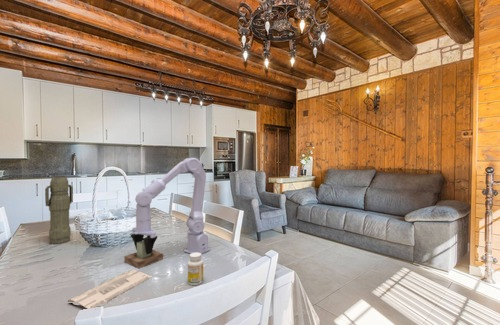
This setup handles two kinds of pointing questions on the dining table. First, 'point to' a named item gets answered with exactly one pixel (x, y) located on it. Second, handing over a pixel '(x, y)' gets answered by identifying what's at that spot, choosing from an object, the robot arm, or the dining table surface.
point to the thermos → (59, 209)
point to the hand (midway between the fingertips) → (143, 251)
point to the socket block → (143, 259)
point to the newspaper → (110, 289)
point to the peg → (141, 250)
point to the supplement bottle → (195, 269)
